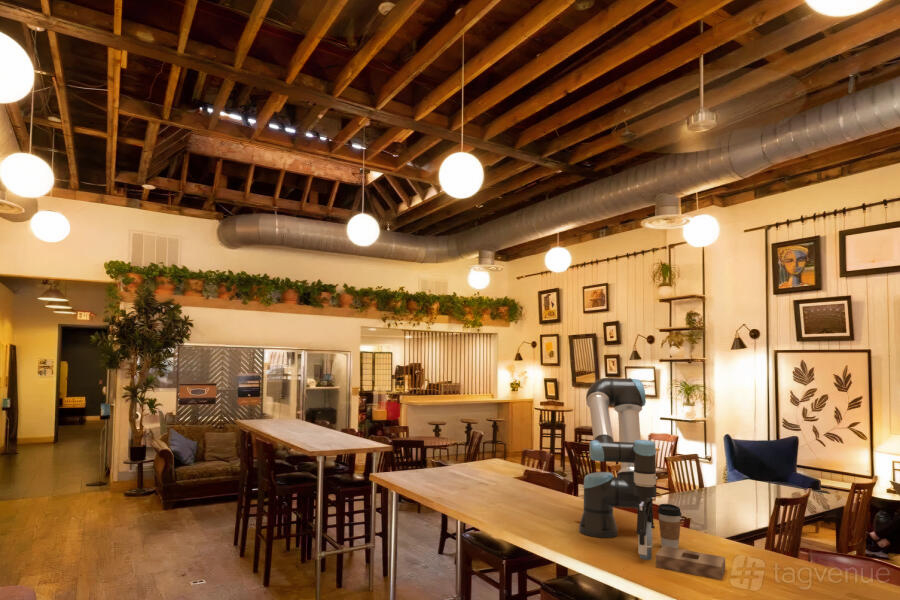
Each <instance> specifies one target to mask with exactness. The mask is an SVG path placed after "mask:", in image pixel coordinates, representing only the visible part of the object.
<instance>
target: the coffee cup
mask: <svg viewBox="0 0 900 600" xmlns="http://www.w3.org/2000/svg"><path fill="white" fill-rule="evenodd" d="M657 514H658V524H659V533H660V534H659V535H660V542H661V547H662V546H666V547H672V548H677V549H680V548H679V545H680V534H681V532H680V531H681V516H682V511H681V509H680V507H679V506H678V505H674V504H671V503H660V504H658V509H657Z"/></svg>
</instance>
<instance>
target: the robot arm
mask: <svg viewBox="0 0 900 600" xmlns="http://www.w3.org/2000/svg"><path fill="white" fill-rule="evenodd" d="M646 396H647V395H646V390H645V386H644V384H643V382H642V381H641V380H640V379H637V378H630V377H629V378H619V377H618V378H615V377H602V378H600V379H596V381H594V382H593V383H592V384H591V385H590V387H588V390H587V391H586V395H585V397H586V398H585V400H586V401H585V402H586V405H587V406H588V408H589V414H590V421H591V429H592V436H593V437H592V438H593V440H590V441H589V458H590V459H591V461H595V462H596V461H597V462H607V463H620V470H618V472H617V476H614V474H613V472H609V471H607V472H606V471H599V472H598V471H597V472H591V473H588V474H586V475H585V476H584V478H583V485H582V488H583V511H582V512H583V513H582V515H581V517H580V522H579V524H578V531H579V532H580V533H581V534H583V535H586V536H587V537H589V536H590V537H595V538H603V539H605V538H609V539H610V538H614V537H616V536H618V535H619V530H618V529H619V528H618V525H617V522H616V519H615V515H614V508H624V509H625V508H626V509H627V508H628V509H636V510H637V516H636V519H637V520H636V531H635V535H638V536H637V538H638V539H637V544H638V546H637V548H638V549H637V550H638V551H637V552H638V554H639V555H640V554H642V555H647V535H646V526H647V521H648V522H651V539H652V549H653V547H654V546H653V530H655V528H656V527H655V525H654V524H655V523H654V510H653V506H654V505H653V501H654V499H653V498H656V497H657V487H656V486H655V485H657V480H658V476H657V475H656V474H657V471H656V470H657V460H656V458H657V456H656V455H657V450H656V449H657V448H656V442H655V441H653V440H647V439H641V428H640V427H641V426H640V424H641V423H640V413H641V411H642V410H643V407H644V406H646V404H647V403H646V402H647V401H646V400H647V399H646ZM609 405H610V406H611V405H612V406H613V410H614V411H616V413H617V417H618V438H619V441H615V440H614V436H613V435H614V434H613V429H612V423H611V417H610V416H611V415H610V410H609ZM640 530H642V531H640Z"/></svg>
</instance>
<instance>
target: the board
mask: <svg viewBox="0 0 900 600" xmlns="http://www.w3.org/2000/svg"><path fill="white" fill-rule="evenodd" d="M655 567H656V568H657V567H658V569H662V568H663V570H668V571H672V572H678V573H683V574H689V575H693V576H697V577H703V578H707V579H708V578H709V579H713V580H717V581H723V579H724V575H725V572H726V557H725V556H721V555H715V554H710V553H703V552H700V551H699V552H697V551H692V550H687V549H681V548H678V549H677V548H672V547H666V546H662V545H661V547H660V549H659V550H658V551H657V553H656V554H655Z"/></svg>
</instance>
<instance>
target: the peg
mask: <svg viewBox="0 0 900 600" xmlns="http://www.w3.org/2000/svg"><path fill="white" fill-rule="evenodd" d="M651 529H652V528H651V522H648V521H647V526H646V535H647V555H642V554H639V559H642V560H644V561H645V560H646V561H649V560H651V561H652V559H653V557H652V554H653V552H652V551H653V548H652V539H653V538H652V539H651ZM640 531H642V530H640Z"/></svg>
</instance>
